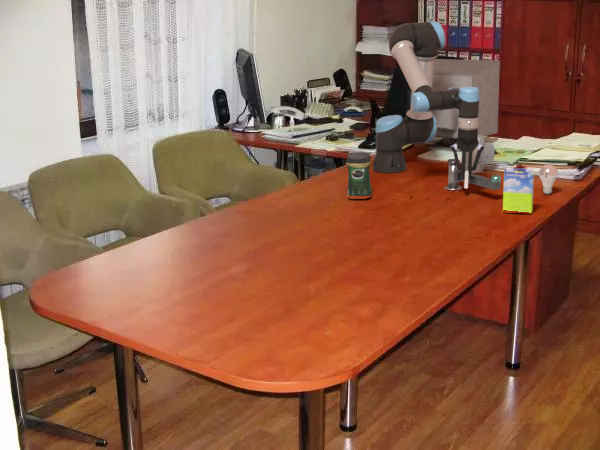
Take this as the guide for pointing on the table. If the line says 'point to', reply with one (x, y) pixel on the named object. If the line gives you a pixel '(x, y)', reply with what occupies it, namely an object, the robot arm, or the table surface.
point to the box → (518, 190)
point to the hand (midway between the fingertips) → (465, 187)
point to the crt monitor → (465, 75)
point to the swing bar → (481, 180)
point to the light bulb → (548, 177)
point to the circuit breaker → (482, 155)
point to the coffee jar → (359, 174)
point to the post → (452, 176)
